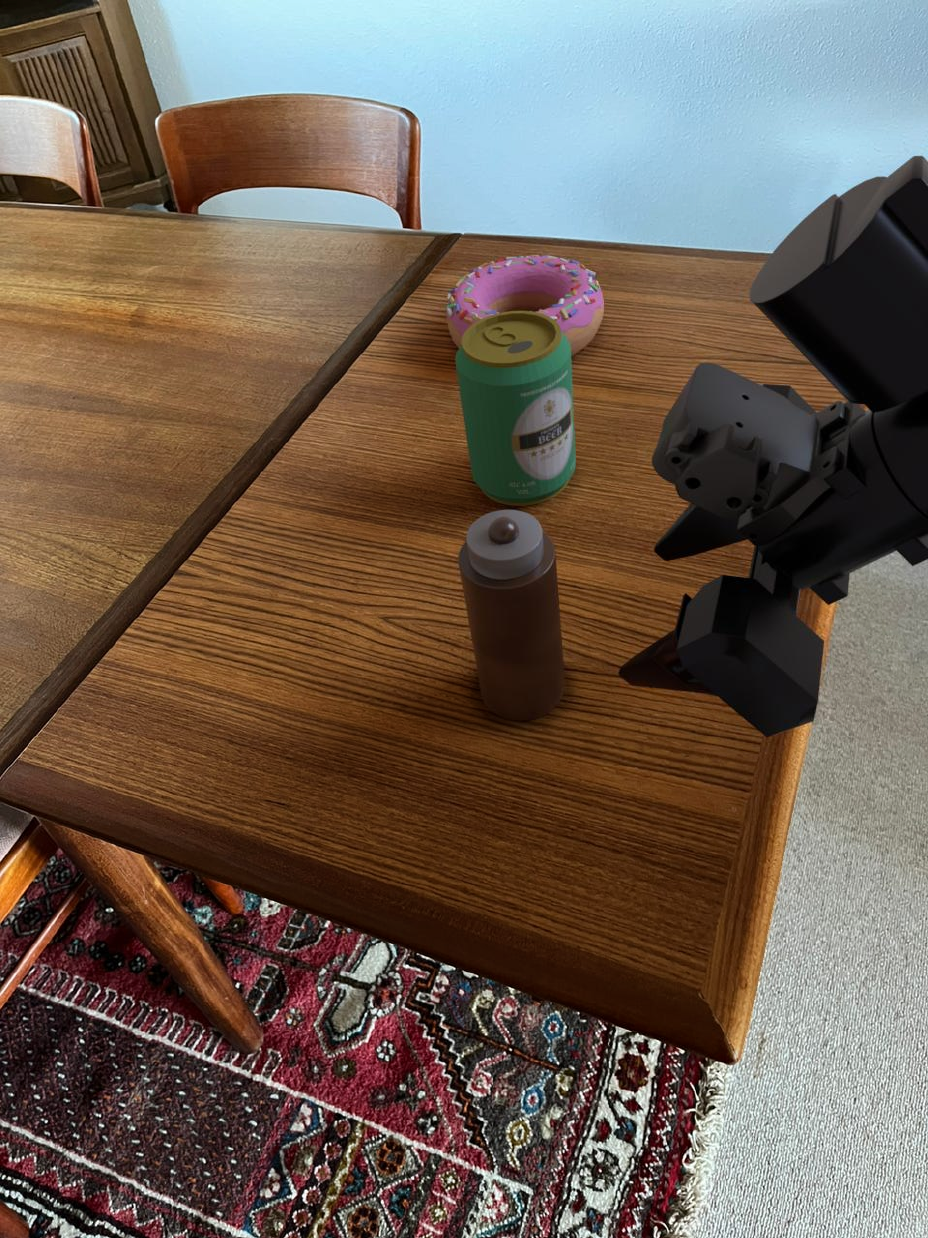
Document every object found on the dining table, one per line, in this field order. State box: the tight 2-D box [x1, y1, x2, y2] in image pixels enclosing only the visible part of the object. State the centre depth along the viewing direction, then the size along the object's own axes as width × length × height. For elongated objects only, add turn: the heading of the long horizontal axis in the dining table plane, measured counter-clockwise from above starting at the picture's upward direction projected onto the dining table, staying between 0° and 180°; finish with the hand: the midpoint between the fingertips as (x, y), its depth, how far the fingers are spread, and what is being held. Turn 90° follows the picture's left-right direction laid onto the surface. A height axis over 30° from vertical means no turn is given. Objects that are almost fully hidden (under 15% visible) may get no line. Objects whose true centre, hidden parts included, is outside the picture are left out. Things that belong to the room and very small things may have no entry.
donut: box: [445, 254, 605, 357], centre depth 85 cm, size 14×14×5 cm
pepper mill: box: [457, 509, 566, 722], centre depth 53 cm, size 5×5×14 cm
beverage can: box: [454, 311, 577, 507], centre depth 68 cm, size 8×8×12 cm
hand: (643, 612), depth 49 cm, fingers open, 9 cm apart
